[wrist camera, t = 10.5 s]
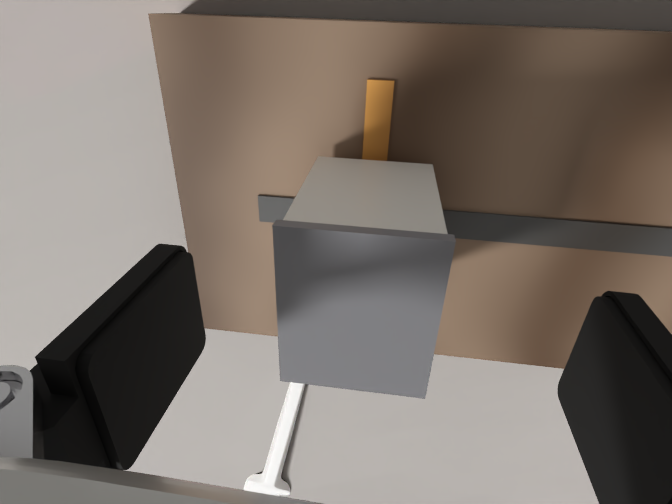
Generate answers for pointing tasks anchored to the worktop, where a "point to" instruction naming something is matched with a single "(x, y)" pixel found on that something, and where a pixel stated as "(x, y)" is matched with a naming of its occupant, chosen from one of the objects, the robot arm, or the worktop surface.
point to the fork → (278, 448)
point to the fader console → (432, 160)
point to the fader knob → (362, 276)
